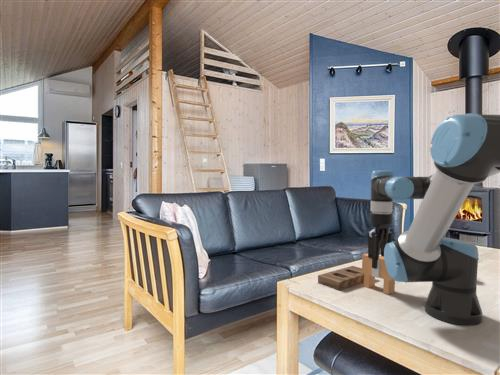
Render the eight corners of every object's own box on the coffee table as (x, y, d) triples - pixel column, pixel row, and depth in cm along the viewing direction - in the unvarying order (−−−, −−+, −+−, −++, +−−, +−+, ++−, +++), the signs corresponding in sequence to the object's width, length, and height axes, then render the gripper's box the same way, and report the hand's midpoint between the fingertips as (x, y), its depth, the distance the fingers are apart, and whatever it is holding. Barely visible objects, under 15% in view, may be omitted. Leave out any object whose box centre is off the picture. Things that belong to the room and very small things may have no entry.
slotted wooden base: (338, 290, 125) (339, 282, 125) (317, 282, 133) (318, 275, 133) (373, 278, 138) (373, 271, 138) (352, 272, 146) (352, 265, 146)
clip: (397, 292, 123) (398, 259, 122) (391, 295, 120) (392, 261, 120) (367, 283, 132) (368, 253, 132) (361, 285, 130) (362, 254, 129)
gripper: (384, 209, 133) (382, 269, 134) (358, 213, 123) (356, 277, 124) (403, 212, 127) (401, 273, 128) (377, 215, 117) (375, 282, 118)
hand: (379, 275), depth 126 cm, fingers closed on clip, 4 cm apart
